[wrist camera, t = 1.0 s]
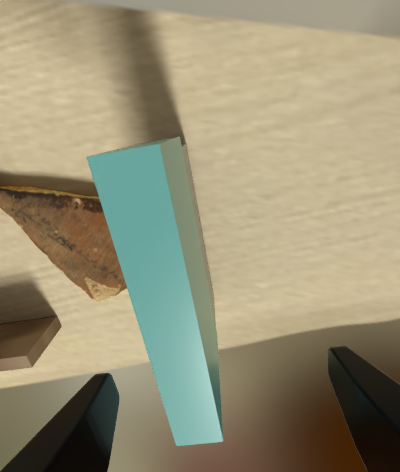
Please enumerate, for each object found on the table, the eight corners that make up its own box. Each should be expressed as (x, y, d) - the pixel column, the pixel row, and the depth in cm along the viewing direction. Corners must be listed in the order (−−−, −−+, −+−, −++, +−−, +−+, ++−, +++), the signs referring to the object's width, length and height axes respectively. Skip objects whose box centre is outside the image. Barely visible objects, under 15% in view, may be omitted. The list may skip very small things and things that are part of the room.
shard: (-6, 181, 18) (-28, 186, 17) (77, 109, 17) (63, 107, 15) (103, 296, 21) (94, 310, 20) (182, 246, 20) (180, 256, 18)
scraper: (184, 134, 16) (159, 143, 7) (215, 303, 21) (223, 441, 12) (151, 140, 16) (86, 156, 7) (188, 307, 21) (176, 446, 12)
